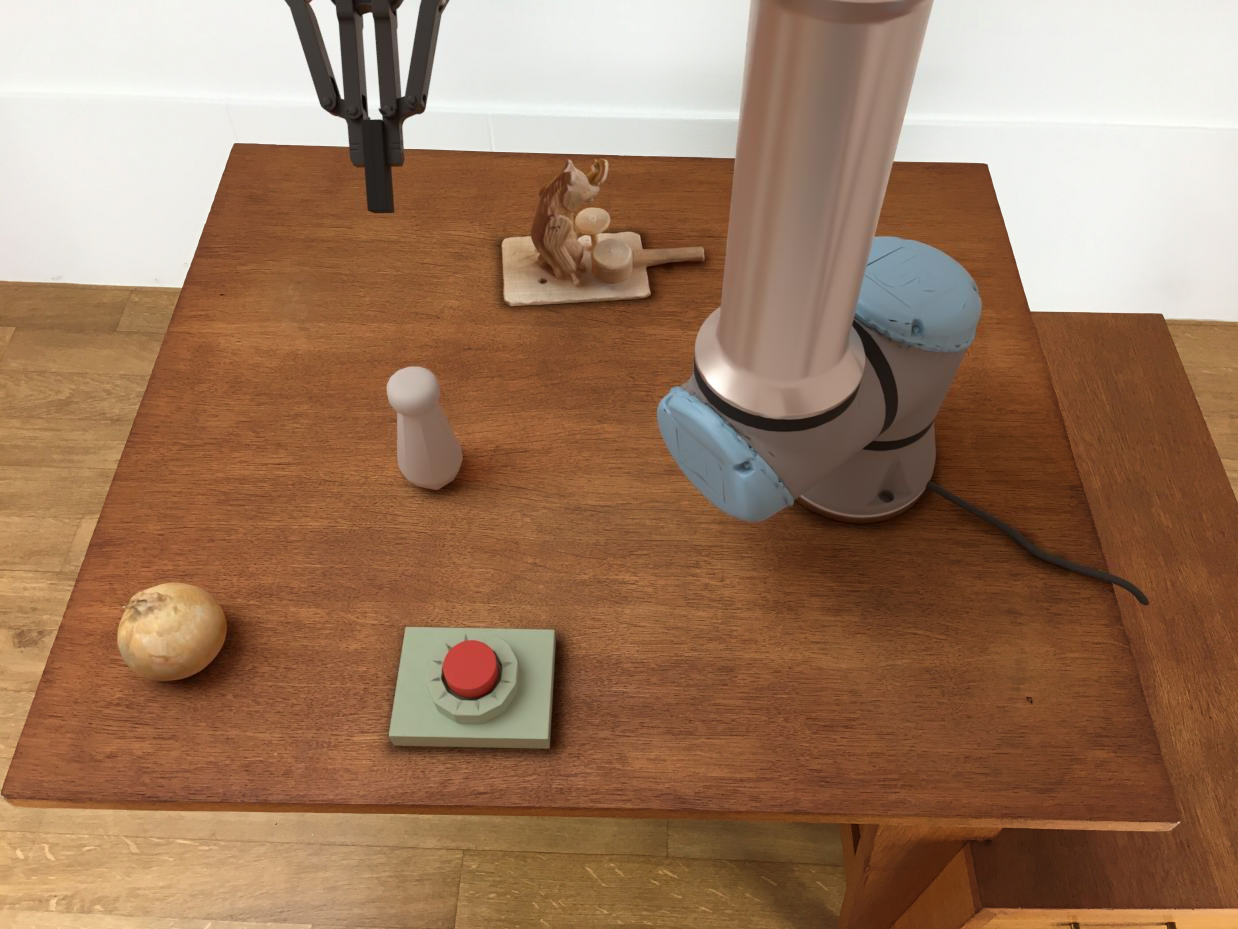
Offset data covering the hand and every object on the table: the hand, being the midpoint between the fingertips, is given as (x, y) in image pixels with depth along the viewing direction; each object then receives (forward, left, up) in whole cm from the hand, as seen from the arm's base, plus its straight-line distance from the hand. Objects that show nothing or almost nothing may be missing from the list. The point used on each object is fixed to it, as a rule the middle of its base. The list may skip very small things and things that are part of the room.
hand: (381, 211), depth 74 cm
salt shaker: (-5, +6, -24) cm, 25 cm away
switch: (-20, +22, -20) cm, 36 cm away
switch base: (-20, +22, -24) cm, 38 cm away
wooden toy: (-6, -25, -24) cm, 35 cm away
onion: (+3, +30, -24) cm, 39 cm away
